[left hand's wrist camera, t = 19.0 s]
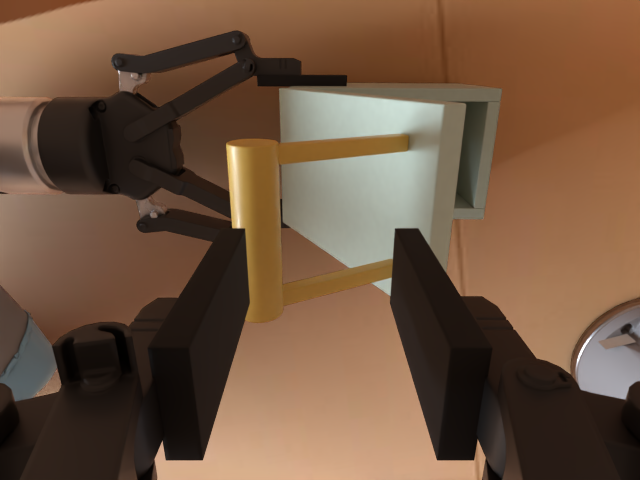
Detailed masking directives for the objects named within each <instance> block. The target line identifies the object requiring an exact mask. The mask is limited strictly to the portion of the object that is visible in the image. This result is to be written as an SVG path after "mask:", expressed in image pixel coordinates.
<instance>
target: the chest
mask: <svg viewBox="0 0 640 480" xmlns="http://www.w3.org/2000/svg"><path fill="white" fill-rule="evenodd" d="M289 88H303V89H314V90H325V91H336V92H347V93H358V94H369V95H381V96H392V97H403V98H414V99H425V100H436V101H447V102H458V103H465V104H466V111H465V120H464V128H463V137H462V145H461V153H460V162H459V170H458V179H457V187H456V195H455V204H454V212H453V219H484V212H485V205H486V198H487V192H488V185H489V178H490V171H491V164H492V157H493V150H494V144H495V137H496V130H497V123H498V116H499V109H500V101H501V95H502V89H501V88H494V87H485V86H477V85H468V84H460V83H347V86H290V87H289Z"/></svg>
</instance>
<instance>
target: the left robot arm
mask: <svg viewBox="0 0 640 480" xmlns="http://www.w3.org/2000/svg"><path fill="white" fill-rule="evenodd" d="M249 305H250V296H249V280H248V265H247V249H246V233H245V228H221V230H220V232H219V233H218V235H217V236H216V238H215V240H214V241H213V243H212V245H211V246H210V248H209V249H208V251H207V253H206V254H205V256H204V257H203V259H202V261H201V262H200V264H199V265H198V267H197V269H196V270H195V272H194V274H193V275H192V277H191V278H190V280H189V282H188V283H187V285H186V286H185V288H184V290H183V291H182V293H181V294H180V296H179V298H157V299H156V300H154V301H153V302H151V303H149V304H148V305H146V306H145V307H143V308H142V310H141V311H140V312H139V314H138V315H137V316H136V318H135V319H134V322H132V323H131V324H130V326H129V327H128V326H126V325H125V324H122V323H117V322H99V323H94V324H89V325H85V326H82V327H80V328H77V329H74V330H72V331H70V332H68V333H67V334H65V335H64V336H62V337H60V338H59V339H58V340H57V341H56V342H55V344H54V345H53V346H52V349H53V353H54V357H55V360H56V364H57V368H58V372H59V376H60V380H61V384H62V385H61V388H60V390H59V392H56V393H53V394H49V395H44V396H39V397H34V398H29V399H25V400H20V401H15V399H14V396H13V393H12V389H11V388H10V387H8V386H7V385H6V384H4V383H0V480H157V472H156V466H155V460H154V459H155V456H156V454H157V452H158V449H159V447H160V445H161V442H162V440H163V446H164V452H165V458H166V460H203V458H204V455H205V451H206V448H207V445H208V441H209V438H210V435H211V431H212V428H213V425H214V421H215V418H216V415H217V411H218V408H219V405H220V401H221V398H222V395H223V391H224V388H225V385H226V381H227V378H228V375H229V371H230V368H231V365H232V361H233V358H234V355H235V351H236V348H237V345H238V341H239V338H240V335H241V331H242V328H243V325H244V321H245V318H246V315H247V311H248V308H249ZM390 305H391V308H392V311H393V315H394V318H395V321H396V325H397V328H398V331H399V335H400V338H401V341H402V345H403V348H404V351H405V355H406V358H407V361H408V365H409V368H410V371H411V375H412V378H413V381H414V385H415V388H416V391H417V395H418V398H419V401H420V405H421V408H422V411H423V415H424V418H425V421H426V425H427V428H428V431H429V435H430V438H431V441H432V445H433V448H434V451H435V455H436V458H437V460H474V458H475V452H476V446H477V440H479V443H480V445H481V447H482V450H483V452H484V454H485V457H486V460H485V466H484V471H483V477H482V480H640V298H639V299H635V300H631V301H628V302H626V303H623V304H621V305H618V306H616V307H614V308H613V309H611V310H609V311H607V312H606V313H604V314H603V315H602V316H600V317H599V318H598V319H596V320H595V321H594V322H593V323H592V324H591V325H590V326H589V327H588V328H587V329H586V331H585V332H584V333H583V334H582V336H581V337H580V339H579V341H578V342H577V344H576V346H575V349H574V351H573V355H572V359H571V374H569V373H568V372H566V371H565V370H564V369H562V368H561V367H559V366H557V365H554V364H552V363H550V362H548V361H544V360H540V359H536V357H535V356H534V355H533V353H532V352H531V351H530V349H529V348H528V347H527V345H526V344H525V343H524V341H523V340H522V339H521V337H520V336H519V335H518V333H517V332H516V331H515V330H513V327H512V325H511V324H510V323H509V321H508V320H506V317H505V316H504V315H503V313H502V312H501V311H500V309H499V308H498V307H497V306H496V305H495V304H493V303H491V302H490V301H488V300H487V299H485V298H484V297H482V296H460V294H459V293H458V291H457V290H456V288H455V286H454V285H453V283H452V282H451V280H450V278H449V277H448V275H447V274H446V272H445V270H444V269H443V267H442V265H441V264H440V262H439V261H438V259H437V257H436V256H435V254H434V253H433V251H432V249H431V248H430V246H429V245H428V243H427V241H426V240H425V238H424V236H423V235H422V233H421V232H420V230H419V228H395V233H394V249H393V265H392V280H391V296H390Z"/></svg>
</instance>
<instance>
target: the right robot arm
mask: <svg viewBox="0 0 640 480" xmlns="http://www.w3.org/2000/svg"><path fill="white" fill-rule="evenodd" d="M232 53H235V56H236V58H237V61H238V62H237V63H236V64H234V65H232V66H231V67H229V68H227V69H225V70H224V71H222V72H220V73H219V74H217V75H215V76H213V77H212V78H210V79H208V80H207V81H205V82H203V83H202V84H200V85H198V86H196V87H195V88H193V89H191V90H190V91H188V92H186V93H184V94H183V95H181V96H179V97H178V98H176V99H174V100H172V101H170V102H168V103H166V104H164V105H163V106H161V107H158V106H156V105H155V104H153V103H152V102H151V101H149V100H148V99H146V98H145V97H143V96H142V95H140V94H139V93H137V89H138V87H139V86H140V85H141V84H146V83H148V82H149V81H150V78H151V73H161V72H166V71H170V70H174V69H177V68H181V67H185V66H188V65H192V64H196V63H199V62H203V61H207V60H210V59H214V58H218V57H221V56H225V55H228V54H232ZM111 62H112V65H113V67H114V68H115V69H116V70H118V74H119V92H117V93H116V94H114V95H112V96H110V97H58V98H55V99H51V98H48V97H0V194H61V193H64V192H65V193H67V194H121V195H125V196H128V197H130V198H132V199H134V200H136V203H137V206H138V210H139V214H140V220H139V221H138V222H137V228H138V230H139V231H141V232H143V233H148V232H159V231H168V232H173V233H177V234H181V235H186V236H190V237H194V238H199V239H203V240H207V241H212V242H213V241H214V240H215V238H216V236H217V235H218V233H219V232H220V230H221V228H232V222H230V221H226V220H222V219H218V218H214V217H209V216H205V215H201V214H197V213H192V212H188V211H184V210H179V209H167V207H166V205H165V204H163V203H159V202H156V201H154V200H153V198H152V196H151V195H152V194H154V193H155V192H156V191H157V190H159V189H160V188H161V187H162V188H164V189H166V190H168V191H170V192H172V193H174V194H177V195H184V196H186V197H188V198H190V199H192V200H194V201H196V202H198V203H200V204H202V205H204V206H206V207H208V208H210V209H213V210H215V211H217V212H219V213H221V214H223V215H225V216H227V217H229V218H231V204H230V192H229V191H227V190H225V189H223V188H221V187H219V186H217V185H215V184H213V183H211V182H209V181H207V180H205V179H203V178H201V177H199V176H197V175H196V174H195V173H194V172H193V171H191V170H189V169H187V168H185V167H183V166H182V165H183V164H184V156H183V152H182V150H181V147H180V140H181V128H180V126H178V124H177V122H176V121H177V120H178V119H180V118H182V117H184V116H185V115H187V114H189V113H190V112H192V111H193V110H195V109H197V108H199V107H200V106H202V105H204V104H206V103H207V102H209V101H211V100H213V99H214V98H216V97H218V96H220V95H221V94H223V93H225V92H227V91H228V90H230V89H232V88H233V87H235V86H237V85H239V84H240V83H242V82H244V81H246V80H247V79H249V78H251V77H253V76H257V84H258V86H347V75H301V61H299V60H296V59H294V58H260V57H258V56H257V55H256V54H255V53H254V51H253V48H252V45H251V43H250V39H249V36H247V35H246V34H245V33H243V32H240V31H232V32H228V33H224V34H221V35H217V36H214V37H210V38H206V39H203V40H199V41H196V42H192V43H188V44H185V45H181V46H178V47H174V48H170V49H167V50H163V51H160V52H156V53H152V54H149V55H145V56H142V55H133V54H120V53H119V54H115V55H113V57H112V60H111ZM280 215H281V228H291V227H289V226H288V225H286V224H285V223H283V209H282V199H280ZM231 219H232V218H231ZM56 369H57V364H56V360H55V357H54V353H53V349H52V345H51V343H50V342H49V341H48V339H47V338H46V337H45V335H44V334H43V333H42V331H41V330H40V329H39V327H38V326H37V325H36V323H35V322H34V321H33V318H32V317H31V314H30V313H28V312H27V311H26V310H23V309H22V308H21V307H20V306H19V305H18V304H17V303H16V301H15V300H14V299H13V298H12V297H11V296H10V295H9V294H8V293H7V292H6V291H5V290H4V289H3V287H2V286H1V285H0V383H4V384H6V385H7V386H8V387H10V388H11V389H12V393H13V396H14V399H15V401H20V400H25V399H29V398H33V397H34V396H35V395H36V394H37V393H38V392H39V391H40V390H41V389H42V388H43V387H44V386H45V385H46V384H47V383H48V382H49V380H50V379H51V377H52V376H53V374H54V373H55V371H56Z"/></svg>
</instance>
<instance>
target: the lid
mask: <svg viewBox="0 0 640 480" xmlns="http://www.w3.org/2000/svg"><path fill="white" fill-rule="evenodd" d="M279 101H280V137H281V143H278V142H277V141H275V140H270V139H238V140H232V141H229V142H227V143H226V149H227V163H228V177H229V190H230V204H231V218H232V228H245V233H246V249H247V265H248V280H249V296H250V305H249V308H248V311H247V315H246V318H245V321H248V322H253V323H264V322H269V321H272V320H275V319H277V318H278V317H279V316H281V314H282V313H283V306H286V305H290V304H293V303H297V302H301V301H305V300H309V299H312V298H316V297H320V296H324V295H328V294H331V293H335V292H339V291H343V290H347V289H350V288H354V287H358V286H362V285H366V284H369V283H372V284H373V285H375V286H376V287H378V288H379V289H381V290H382V291H384V292H385V293H386V294H388V295H389V296H391V280H392V265H393V249H394V233H395V228H419V230H420V232H421V233H422V235H423V236H424V238H425V240H426V241H427V243H428V245H429V246H430V248H431V249H432V251H433V253H434V254H435V256H436V257H437V259H438V261H439V262H440V264H441V265H442V267H443V269H444V270H445V272H446V271H447V263H448V254H449V246H450V237H451V229H452V221H453V212H454V204H455V195H456V187H457V179H458V170H459V162H460V153H461V145H462V137H463V128H464V120H465V111H466V104H465V103H458V102H447V101H436V100H425V99H414V98H403V97H392V96H381V95H369V94H358V93H347V92H336V91H325V90H314V89H303V88H279ZM279 165H281V173H282V209H283V223H285V224H286V225H288V226H289V227H291V228H292V229H294V230H295V231H297V232H298V233H299V234H301V235H302V236H304V237H305V238H307V239H308V240H310V241H311V242H312V243H314V244H315V245H317V246H318V247H320V248H321V249H323V250H324V251H326V252H327V253H328V254H330V255H331V256H333V257H334V258H336V259H337V260H339V261H340V262H341V263H343V264H344V265H346V266H347V267H349V269H345V270H340V271H336V272H332V273H328V274H324V275H320V276H315V277H311V278H307V279H303V280H299V281H294V282H290V283H286V284H283V283H282V249H281V215H280V181H279Z"/></svg>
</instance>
